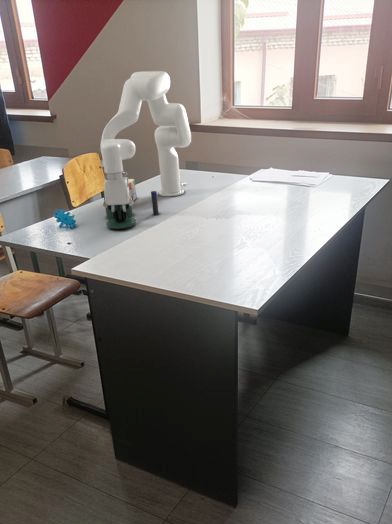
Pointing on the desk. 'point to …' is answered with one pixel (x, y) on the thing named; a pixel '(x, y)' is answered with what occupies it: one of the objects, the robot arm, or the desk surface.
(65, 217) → the gear
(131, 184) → the stack of blocks
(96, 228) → the desk surface
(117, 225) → the lid
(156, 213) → the cylinder
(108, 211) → the green hollow cylinder
